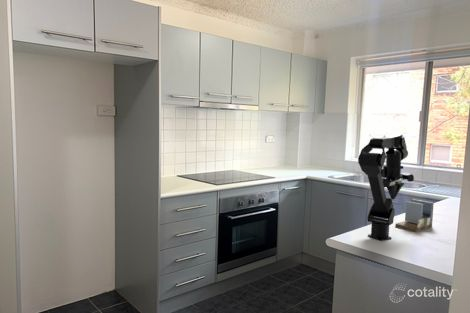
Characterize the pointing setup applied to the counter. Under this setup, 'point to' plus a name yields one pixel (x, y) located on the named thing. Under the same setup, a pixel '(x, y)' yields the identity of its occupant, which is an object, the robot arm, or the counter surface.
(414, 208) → the pale blue shelf board
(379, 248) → the counter surface
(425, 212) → the brushed steel plate
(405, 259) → the counter surface
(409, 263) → the counter surface
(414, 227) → the gauge frame
